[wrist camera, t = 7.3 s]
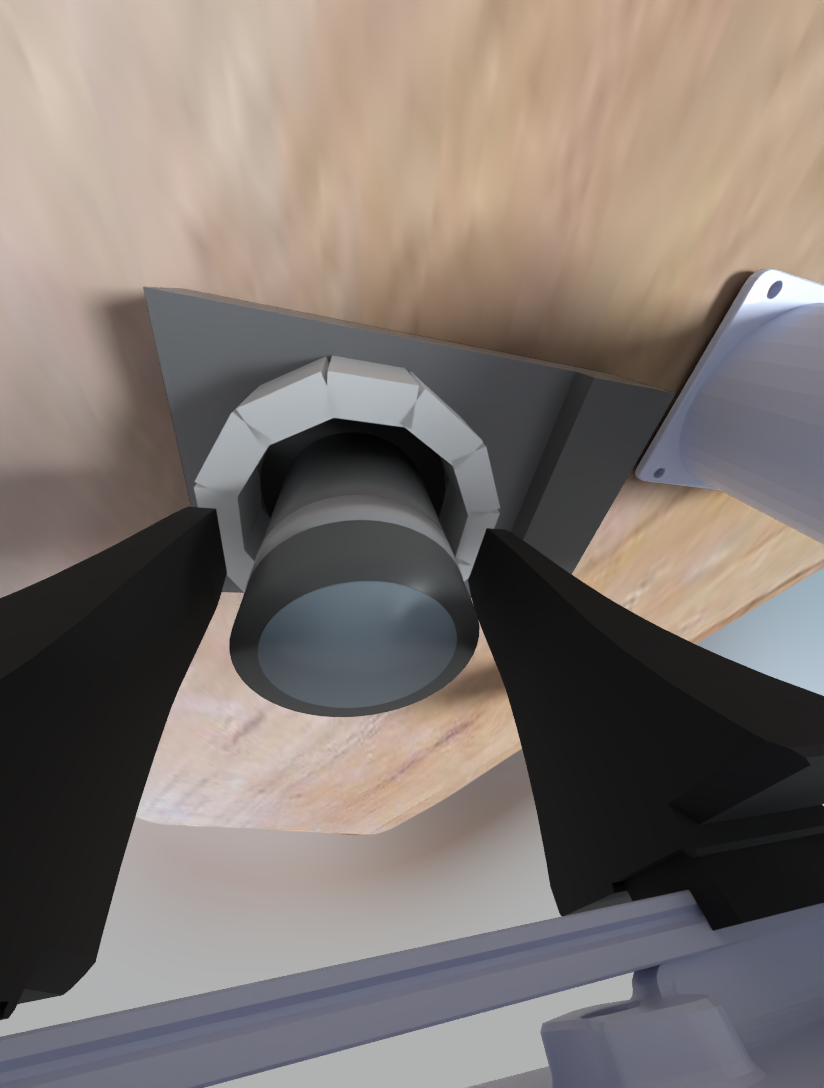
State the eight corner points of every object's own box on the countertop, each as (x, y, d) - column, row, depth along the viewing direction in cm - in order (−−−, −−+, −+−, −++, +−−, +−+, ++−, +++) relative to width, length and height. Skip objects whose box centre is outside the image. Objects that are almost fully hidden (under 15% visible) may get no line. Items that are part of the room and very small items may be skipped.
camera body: (608, 373, 13) (717, 405, 9) (519, 567, 19) (564, 639, 15) (183, 288, 10) (76, 283, 6) (227, 554, 16) (185, 642, 12)
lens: (452, 480, 12) (529, 616, 7) (377, 573, 14) (394, 733, 9) (325, 398, 10) (300, 508, 5) (258, 523, 12) (190, 694, 7)
